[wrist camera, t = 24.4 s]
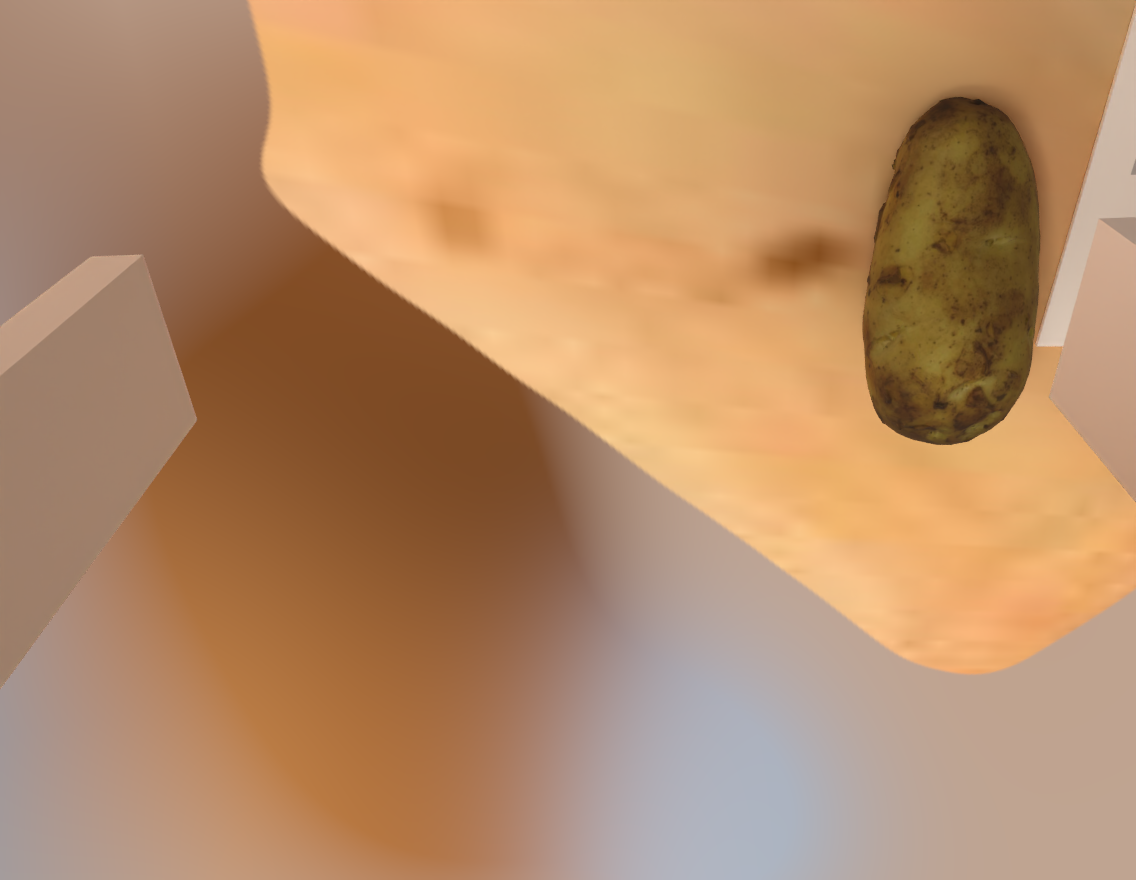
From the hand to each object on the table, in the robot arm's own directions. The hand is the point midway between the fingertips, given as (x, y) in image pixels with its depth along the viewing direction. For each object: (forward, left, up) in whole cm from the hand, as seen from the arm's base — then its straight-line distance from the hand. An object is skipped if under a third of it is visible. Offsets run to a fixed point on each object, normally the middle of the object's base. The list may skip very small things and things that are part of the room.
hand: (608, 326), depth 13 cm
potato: (+9, +14, -27) cm, 32 cm away
